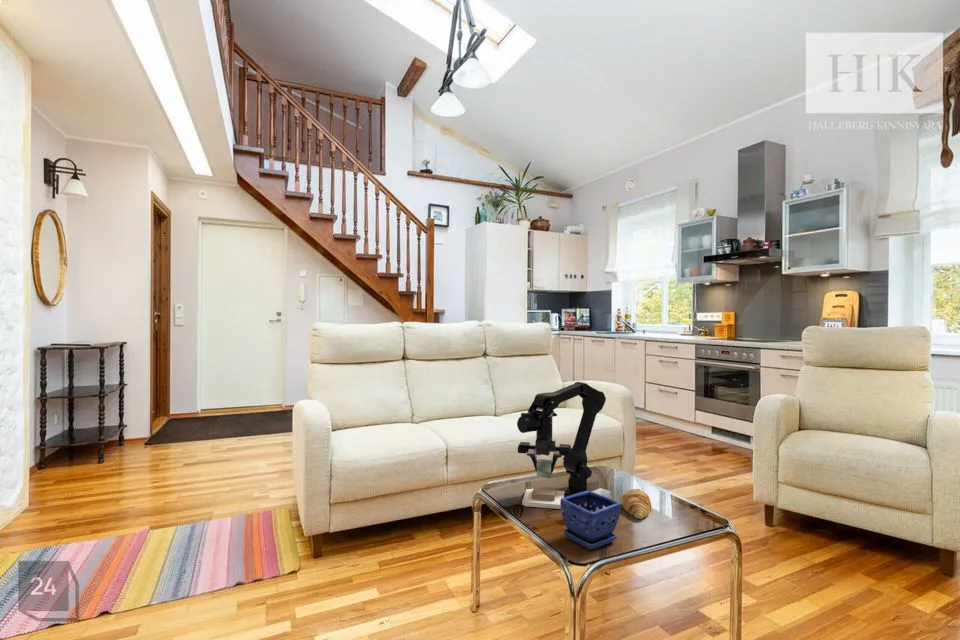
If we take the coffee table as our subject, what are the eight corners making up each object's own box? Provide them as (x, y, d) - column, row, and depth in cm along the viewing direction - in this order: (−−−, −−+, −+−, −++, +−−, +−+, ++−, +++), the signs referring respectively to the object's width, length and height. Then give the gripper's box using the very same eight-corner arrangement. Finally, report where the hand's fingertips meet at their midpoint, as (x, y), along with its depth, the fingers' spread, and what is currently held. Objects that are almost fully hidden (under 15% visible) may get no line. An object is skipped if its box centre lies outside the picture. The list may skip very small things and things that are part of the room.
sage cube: (551, 473, 179) (551, 460, 179) (550, 478, 174) (550, 464, 174) (538, 472, 180) (538, 459, 180) (536, 477, 175) (536, 463, 175)
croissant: (649, 533, 158) (661, 512, 157) (620, 517, 160) (632, 496, 159) (639, 507, 179) (650, 488, 178) (614, 492, 180) (625, 474, 180)
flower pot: (622, 543, 144) (623, 502, 143) (591, 555, 136) (592, 512, 136) (588, 527, 154) (588, 489, 154) (558, 537, 147) (558, 498, 147)
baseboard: (564, 495, 182) (564, 485, 182) (562, 509, 168) (562, 499, 168) (526, 492, 185) (527, 482, 185) (522, 505, 171) (522, 495, 171)
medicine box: (599, 513, 165) (599, 487, 165) (611, 517, 162) (611, 490, 162) (586, 519, 160) (586, 493, 160) (598, 524, 157) (598, 496, 157)
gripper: (515, 433, 171) (515, 477, 171) (569, 436, 167) (569, 481, 167) (519, 426, 182) (519, 468, 182) (570, 428, 178) (570, 471, 178)
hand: (544, 472), depth 177 cm, fingers closed on sage cube, 5 cm apart
